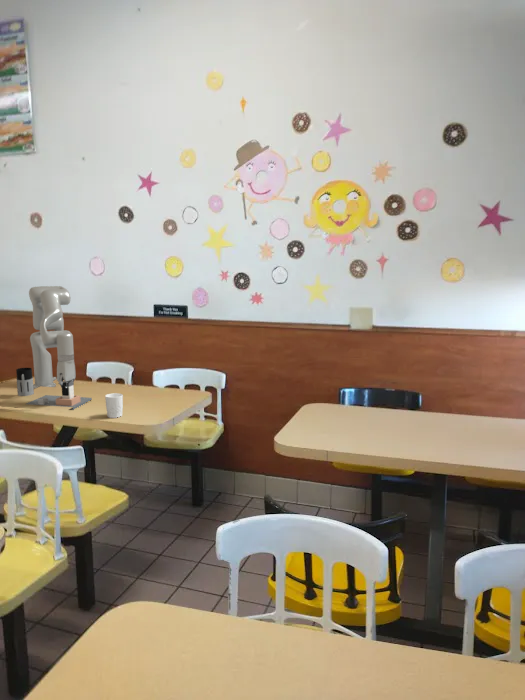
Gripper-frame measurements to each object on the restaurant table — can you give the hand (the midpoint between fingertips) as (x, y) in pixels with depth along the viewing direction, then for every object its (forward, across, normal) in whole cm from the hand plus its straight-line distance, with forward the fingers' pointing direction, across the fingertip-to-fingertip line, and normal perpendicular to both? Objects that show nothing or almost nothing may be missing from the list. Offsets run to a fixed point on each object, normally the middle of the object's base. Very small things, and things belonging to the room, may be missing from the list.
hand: (67, 393), depth 270 cm
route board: (+6, -3, -7) cm, 10 cm away
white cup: (+6, +11, +30) cm, 33 cm away
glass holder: (+6, -9, -30) cm, 32 cm away
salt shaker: (+4, 0, 0) cm, 4 cm away
